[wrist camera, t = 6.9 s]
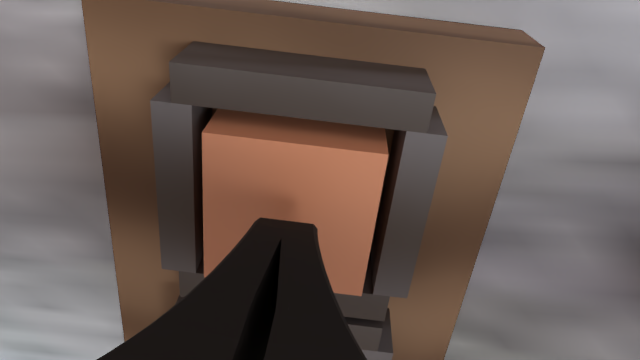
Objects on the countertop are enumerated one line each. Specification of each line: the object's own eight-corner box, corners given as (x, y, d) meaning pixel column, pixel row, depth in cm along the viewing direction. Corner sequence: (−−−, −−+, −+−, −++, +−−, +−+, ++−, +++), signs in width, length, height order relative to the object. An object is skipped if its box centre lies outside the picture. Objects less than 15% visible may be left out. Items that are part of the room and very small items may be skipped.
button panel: (113, -19, 14) (36, 6, 11) (522, 30, 14) (575, 71, 11) (159, 464, 26) (129, 550, 23) (384, 491, 26) (389, 581, 23)
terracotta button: (225, 97, 14) (202, 132, 12) (383, 116, 14) (388, 154, 12) (223, 227, 16) (203, 277, 14) (360, 244, 16) (361, 296, 14)
